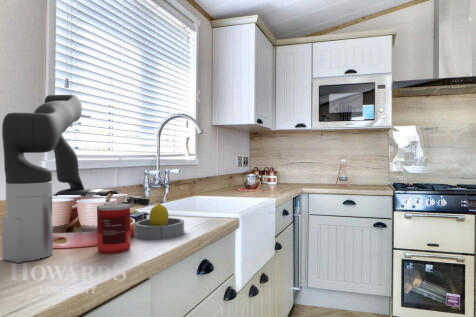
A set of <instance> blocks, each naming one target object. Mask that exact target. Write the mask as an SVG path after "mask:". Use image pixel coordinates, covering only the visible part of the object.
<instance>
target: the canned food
mask: <svg viewBox="0 0 476 317" xmlns="http://www.w3.org/2000/svg"><path fill="white" fill-rule="evenodd" d="M130 205H131V204H122V203H117V204H104V205H99V206H97V212H96V222H97V223H96V224H97V226H96V227H97V230H96V233H97V234H96V235H97V250H98V252H99V253H100V254H103V253H106V255H114V253H116V254H122V253H125V252H128V251H129V250H130V248H131V207H130ZM121 252H122V253H121Z"/></svg>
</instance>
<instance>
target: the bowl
mask: <svg viewBox="0 0 476 317" xmlns="http://www.w3.org/2000/svg"><path fill="white" fill-rule="evenodd" d="M133 225H134V226H133V227H134V229H133V231H134V234H133V236H134V237H136V238H137V239H143V240H167V239H173V238H177V237H180V236H181V237H182V236H183V235H184V233H185V220H184V219H181V218H177V217H168V223H167V224H166V225H165V226H152V225H151V223H150V219H149V218H145V219H142V220H138V221H136V222H134V223H133Z"/></svg>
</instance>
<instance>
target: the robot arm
mask: <svg viewBox="0 0 476 317" xmlns="http://www.w3.org/2000/svg"><path fill="white" fill-rule="evenodd" d="M82 106H83V105H82V103H81V100H80V99H79V97H78V96H76V95H75V94H49V95H46V97H45V98H44V102H43V104H41V105H39V106H37V108H35V110H34V111H33V112H9V113H7V114H6V115H5V116H4V118H3V119H2V124H1V125H2V127H1V128H2V129H1V133H2V134H1V135H2V146H3V163H4V164H3V165H4V174H5V175H4V176H5V216H3V217H1V238H2V239H1V241H2V242H1V245H2V246H1V248H2V250H1V252H2V257H1V258H2V260H5V261H8V262H12V263H16V264H17V263H23V262H31V261H37V260H41V259H40V258H42V259H45V258H47V256H48V257H50V256H52V255H53V254H52V253H54V242H53V241H54V240H53V238H54V236H53V182H52V181H53V179H52V178H53V176H52V175H53V173H52V171H51V169H49V168H46V167H44V166H43V167H42V166H39V165H38V164H37V165H36V164H34V163H32V162H31V161H29V160H27V158H25V154H38V153H39V154H41V153H50V152H51V151H53V154H54V161H55V169H56V171H55V172H56V179H57V181H58V182H59V183H63V184H65V183H66V184H68V185H69V188H66V189H61V190H58V191H57V192H56V193H55V194H54V196H57V195H81V196H85V197H84V198H92V196H93V195H100V196H107V195H108V192H109V191H113V194H119V195H120V193H119V192H118V191H116V190H115V189H104V188H103V189H102V188H101V189H100V188H98V189H86V188H85V187H84V184H83V182H82V179H81V176H80V170H79V161H78V156H77V154H76V152H75V150H74V149H73V147H72V146H71V145H70V143H69V142H68V141H67V140H66V138H65V137H64V136H63V133H64V132H65V131H66V130H68V128H69V127H70V126H71V125H72V124H73V123H74V122H77V121H79V120H80V118H81V116H82V112H83V107H82ZM126 196H127V201H122V204H129V205H130V208H134V206H145V207H146V206H150V199H149V197H147V198H146V197H144V196H141V195H140V196H139V195H138V196H136V195H126ZM51 254H52V255H51ZM44 257H45V258H44ZM36 259H37V260H36Z"/></svg>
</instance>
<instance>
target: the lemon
mask: <svg viewBox="0 0 476 317" xmlns="http://www.w3.org/2000/svg"><path fill="white" fill-rule="evenodd" d="M148 216H149V218H148V219H150V223H151V225H152V226H165V225H166V224H167V223H168V218H169V212H168V208H167V207H165V205H163V204H161V203H157V204H156V205H154V206H152V208H150V211H149V215H148Z"/></svg>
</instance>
